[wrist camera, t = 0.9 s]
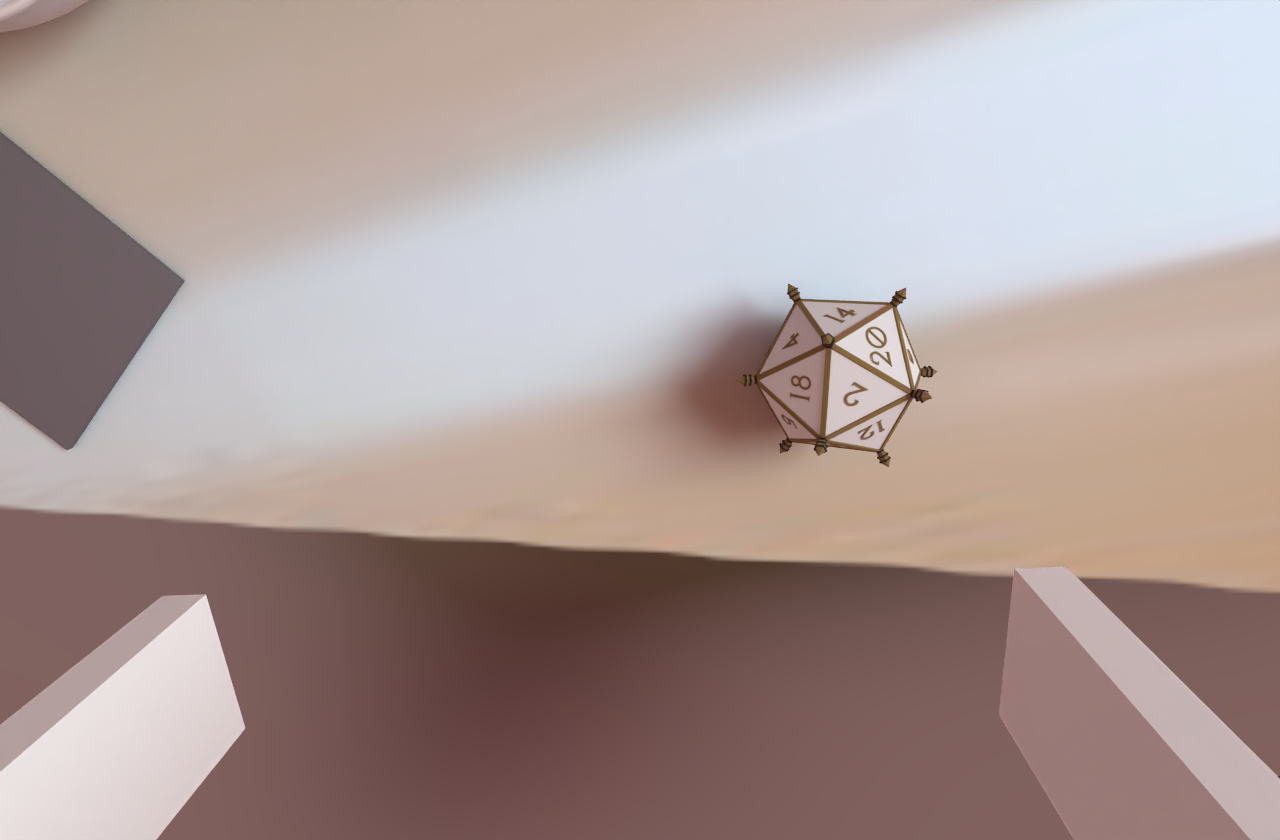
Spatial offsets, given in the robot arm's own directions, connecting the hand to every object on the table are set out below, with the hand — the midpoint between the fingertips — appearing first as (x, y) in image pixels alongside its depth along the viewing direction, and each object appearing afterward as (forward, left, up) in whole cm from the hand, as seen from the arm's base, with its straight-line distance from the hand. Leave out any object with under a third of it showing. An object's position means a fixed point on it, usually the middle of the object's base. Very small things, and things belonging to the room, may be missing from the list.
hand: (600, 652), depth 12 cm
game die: (+3, +8, -28) cm, 29 cm away
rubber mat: (-16, -34, -27) cm, 47 cm away
